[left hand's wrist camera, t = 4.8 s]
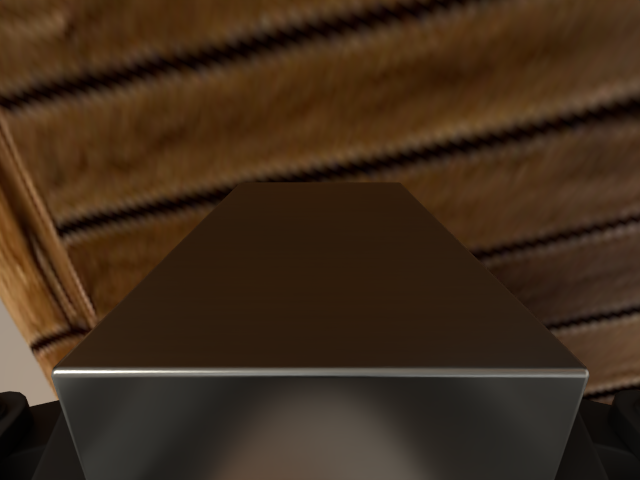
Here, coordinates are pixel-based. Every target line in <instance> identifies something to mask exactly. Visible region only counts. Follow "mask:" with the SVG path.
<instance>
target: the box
mask: <svg viewBox="0 0 640 480" xmlns="http://www.w3.org/2000/svg"><path fill="white" fill-rule="evenodd" d="M51 377H52V380H53V383H54V386H55V389H56V392H57V395H58V398H59V401H60V404H61V407H62V410H63V413H64V416H65V419H66V421H67V424H68V427H69V430H70V433H71V436H72V439H73V442H74V445H75V448H76V451H77V454H78V457H79V460H80V463H81V466H82V469H83V472H84V475H85V478H86V480H554V479H555V476H556V473H557V470H558V467H559V464H560V462H561V459H562V456H563V453H564V450H565V447H566V444H567V441H568V438H569V435H570V432H571V429H572V426H573V423H574V420H575V417H576V414H577V411H578V408H579V405H580V402H581V399H582V396H583V393H584V390H585V387H586V384H587V381H588V378H589V372H588V370H587V368H586V367H585V366H584V365H583V364H582V363H581V362H580V361H579V360H578V359H577V358H576V357H575V356H574V355H573V354H572V353H571V352H570V351H569V350H568V349H567V348H566V347H565V346H564V345H563V344H562V343H561V342H560V341H559V340H558V339H557V338H556V337H555V336H554V335H553V334H552V333H551V332H550V331H549V330H548V329H547V328H546V327H545V326H544V325H543V324H542V323H541V322H540V321H539V320H538V319H537V318H536V317H535V316H534V315H533V314H532V313H531V312H530V311H529V310H528V309H527V308H526V307H525V306H524V305H523V304H522V303H521V302H520V301H519V300H518V299H517V298H516V297H515V296H514V295H513V294H512V293H511V292H510V291H509V290H508V289H507V288H506V287H505V286H504V285H503V284H502V283H501V282H500V281H499V280H498V279H497V278H496V277H495V276H494V275H492V274H491V273H490V272H489V271H488V270H487V269H486V268H485V267H484V266H483V265H482V264H481V263H480V262H479V261H478V260H477V259H476V258H475V257H474V256H473V255H472V254H471V253H470V252H469V251H468V250H467V249H466V248H465V247H464V246H463V245H462V244H461V243H460V242H459V241H458V240H457V239H456V238H455V237H454V236H453V235H452V234H451V233H450V232H449V231H448V230H447V229H446V228H445V227H444V226H443V225H442V224H441V223H440V222H439V221H438V220H437V219H436V218H435V217H434V216H433V215H432V214H431V213H430V212H429V211H428V210H427V209H426V208H425V207H424V206H423V205H422V204H421V203H420V202H419V201H418V200H417V199H416V198H415V197H414V196H413V195H412V194H411V193H410V192H409V191H408V190H407V189H406V188H405V187H404V186H403V185H402V184H401V183H240V184H239V185H238V186H237V187H236V188H235V189H234V190H233V191H232V192H231V193H230V194H229V195H228V196H227V197H226V198H225V199H224V200H223V201H222V202H221V203H220V204H219V205H218V206H217V207H216V208H215V209H214V210H212V211H211V212H210V213H209V214H208V215H207V216H206V217H205V218H204V219H203V220H202V221H201V222H200V223H199V224H198V225H197V226H196V227H195V228H194V229H193V230H192V231H191V232H190V233H189V234H188V235H187V236H186V237H185V238H184V239H183V240H182V241H181V242H180V243H179V244H178V245H177V246H176V247H175V248H174V249H173V250H172V251H171V252H170V253H169V254H168V255H167V256H166V257H165V258H164V259H163V260H162V261H161V262H160V263H159V264H158V265H157V266H156V267H155V268H154V269H153V270H152V271H151V272H150V273H149V274H148V275H147V276H146V277H145V278H144V279H143V280H142V281H141V282H140V283H139V284H138V285H137V286H136V287H135V288H134V289H133V290H132V291H131V292H130V293H129V294H128V295H127V296H126V297H125V298H124V299H123V300H122V301H121V302H120V303H119V304H118V305H117V306H116V307H114V308H113V309H112V310H111V311H110V312H109V313H108V314H107V315H106V316H105V317H104V318H103V319H102V320H101V321H100V322H99V323H98V324H97V325H96V326H95V327H94V328H93V329H92V330H91V331H90V332H89V333H88V334H87V335H86V336H85V337H84V338H83V339H82V340H81V341H80V342H79V343H78V344H77V345H76V346H75V347H74V348H73V349H72V350H71V351H70V352H69V353H68V354H67V355H66V356H65V357H64V358H63V359H62V360H61V361H60V362H59V363H58V364H57V365H56V366H55V367H54V368H53V370H52V375H51Z"/></svg>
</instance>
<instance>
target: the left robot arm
mask: <svg viewBox="0 0 640 480" xmlns="http://www.w3.org/2000/svg"><path fill="white" fill-rule="evenodd" d="M0 480H86V478H85V475H84V472H83V469H82V466H81V463H80V460H79V457H78V454H77V451H76V448H75V445H74V442H73V439H72V436H71V433H70V430H69V427H68V424H67V421H66V419H65V416H64V413H63V410H62V407H61V404H60V401H59V400H57V401H53V402H49V403H44V404H40V405H35V406H31V407H29V404H28V401H27V399H26V397H25V396H24V395H23V394H21V393H20V392H12V391H8V392H2V393H0ZM554 480H640V391H636V390H624V391H620V392H619V393H617V394H616V395H615V397H614V400H613V402H612V405H607V404H603V403H599V402H594V401H590V400H585V399H581V402H580V405H579V408H578V411H577V414H576V417H575V420H574V423H573V426H572V429H571V432H570V435H569V438H568V441H567V444H566V447H565V450H564V453H563V456H562V459H561V462H560V464H559V467H558V470H557V473H556V476H555V479H554Z"/></svg>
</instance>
